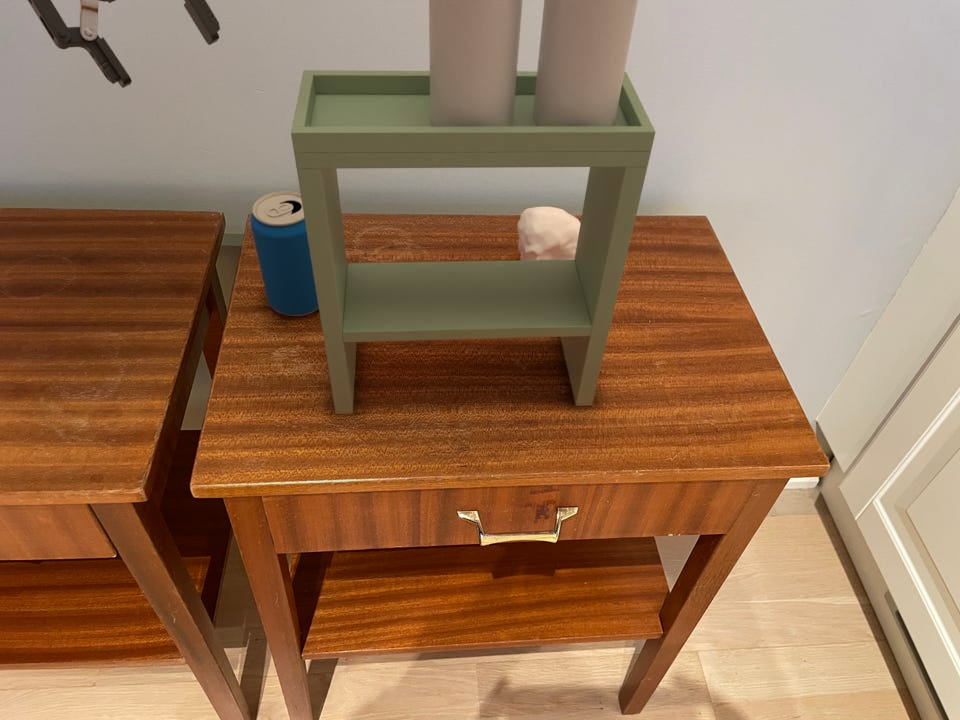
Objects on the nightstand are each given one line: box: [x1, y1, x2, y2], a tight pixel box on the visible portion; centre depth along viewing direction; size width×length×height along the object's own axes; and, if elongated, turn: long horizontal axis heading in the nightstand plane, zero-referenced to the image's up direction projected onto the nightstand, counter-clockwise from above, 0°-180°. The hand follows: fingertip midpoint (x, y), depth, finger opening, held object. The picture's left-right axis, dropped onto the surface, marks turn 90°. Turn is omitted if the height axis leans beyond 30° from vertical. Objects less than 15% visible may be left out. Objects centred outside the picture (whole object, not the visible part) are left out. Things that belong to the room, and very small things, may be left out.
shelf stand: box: [296, 166, 648, 415], centre depth 63 cm, size 24×9×26 cm, turn 94°
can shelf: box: [290, 0, 656, 170], centre depth 49 cm, size 24×9×13 cm, turn 94°
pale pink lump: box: [516, 206, 581, 260], centre depth 81 cm, size 6×8×12 cm
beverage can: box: [249, 190, 319, 317], centre depth 74 cm, size 6×6×12 cm
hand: (172, 62), depth 63 cm, fingers open, 8 cm apart
